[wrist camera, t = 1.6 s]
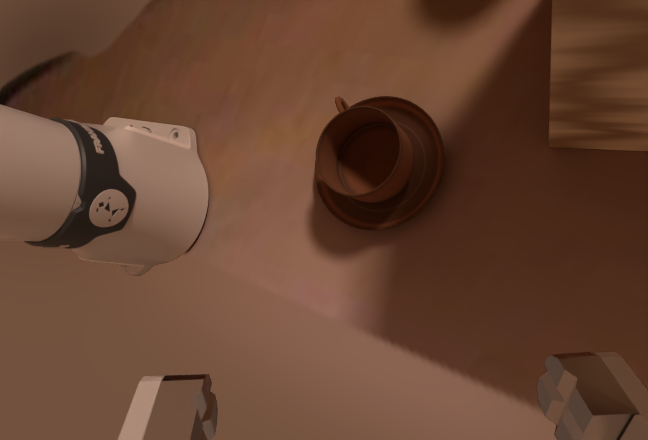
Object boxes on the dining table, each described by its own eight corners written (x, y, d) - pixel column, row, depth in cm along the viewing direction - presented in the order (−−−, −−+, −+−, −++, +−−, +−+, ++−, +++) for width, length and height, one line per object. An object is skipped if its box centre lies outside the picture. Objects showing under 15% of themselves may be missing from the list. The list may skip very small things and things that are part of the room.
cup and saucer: (302, 174, 44) (267, 160, 38) (382, 78, 41) (357, 49, 36) (381, 259, 39) (354, 257, 34) (479, 158, 36) (467, 138, 31)
